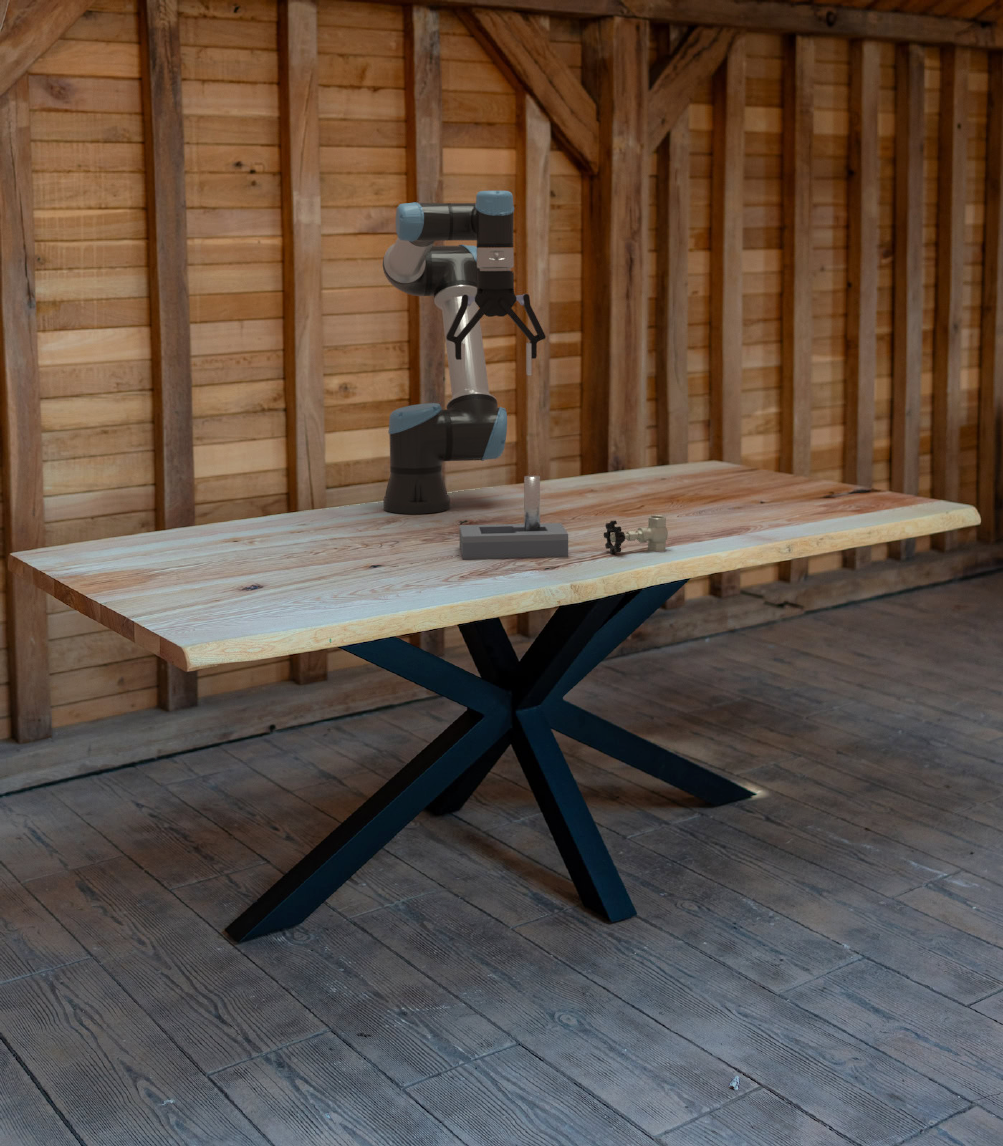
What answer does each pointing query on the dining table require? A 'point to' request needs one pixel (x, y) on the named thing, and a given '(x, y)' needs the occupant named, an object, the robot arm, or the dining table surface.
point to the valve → (639, 535)
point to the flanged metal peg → (532, 503)
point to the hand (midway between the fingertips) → (496, 375)
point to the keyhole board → (512, 541)
